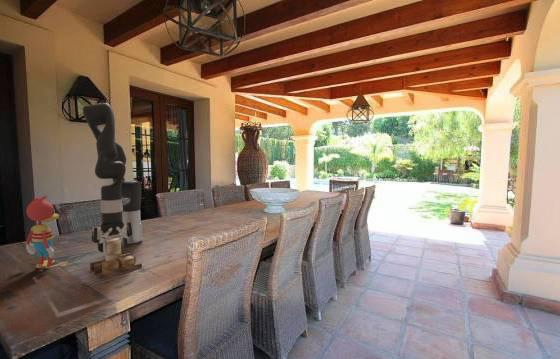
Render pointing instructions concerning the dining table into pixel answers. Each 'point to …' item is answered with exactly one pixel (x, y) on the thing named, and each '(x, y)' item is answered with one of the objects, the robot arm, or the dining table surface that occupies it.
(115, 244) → the long beige rectangular prism
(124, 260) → the offcut
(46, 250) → the toy
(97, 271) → the rack
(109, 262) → the offcut
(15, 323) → the dining table surface
